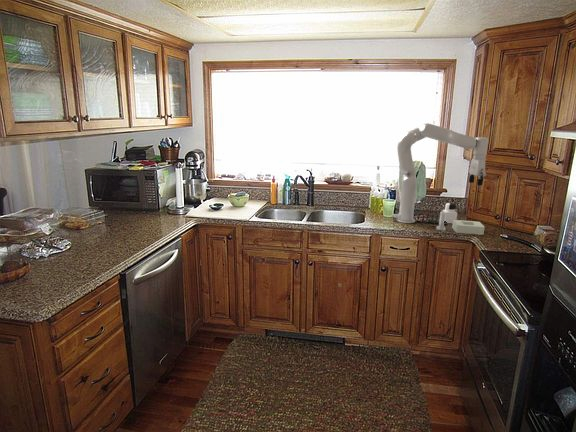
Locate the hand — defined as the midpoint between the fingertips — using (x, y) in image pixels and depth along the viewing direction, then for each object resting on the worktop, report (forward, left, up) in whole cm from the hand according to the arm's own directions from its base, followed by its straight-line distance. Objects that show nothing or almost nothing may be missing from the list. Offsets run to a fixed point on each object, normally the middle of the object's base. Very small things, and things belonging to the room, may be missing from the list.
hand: (475, 183), depth 256 cm
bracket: (-19, -11, -29) cm, 36 cm away
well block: (-3, -11, -29) cm, 31 cm away
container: (-11, +9, -29) cm, 32 cm away
